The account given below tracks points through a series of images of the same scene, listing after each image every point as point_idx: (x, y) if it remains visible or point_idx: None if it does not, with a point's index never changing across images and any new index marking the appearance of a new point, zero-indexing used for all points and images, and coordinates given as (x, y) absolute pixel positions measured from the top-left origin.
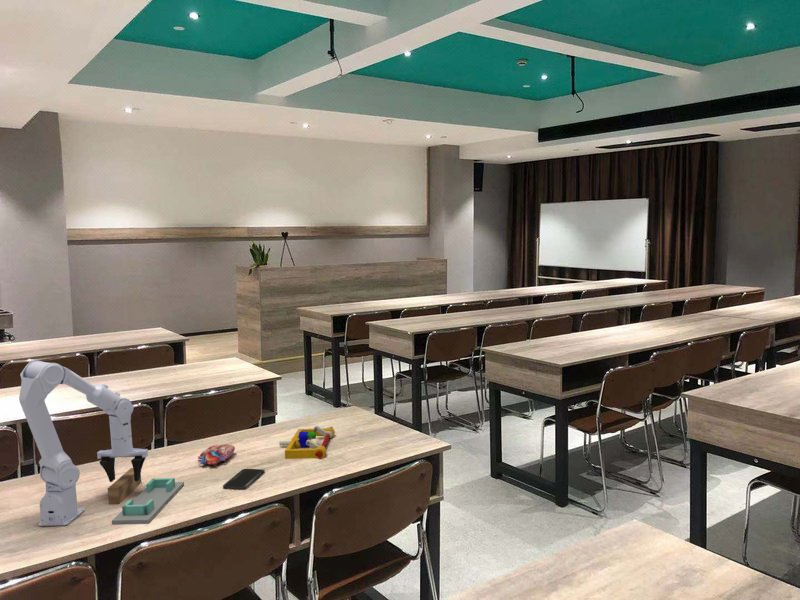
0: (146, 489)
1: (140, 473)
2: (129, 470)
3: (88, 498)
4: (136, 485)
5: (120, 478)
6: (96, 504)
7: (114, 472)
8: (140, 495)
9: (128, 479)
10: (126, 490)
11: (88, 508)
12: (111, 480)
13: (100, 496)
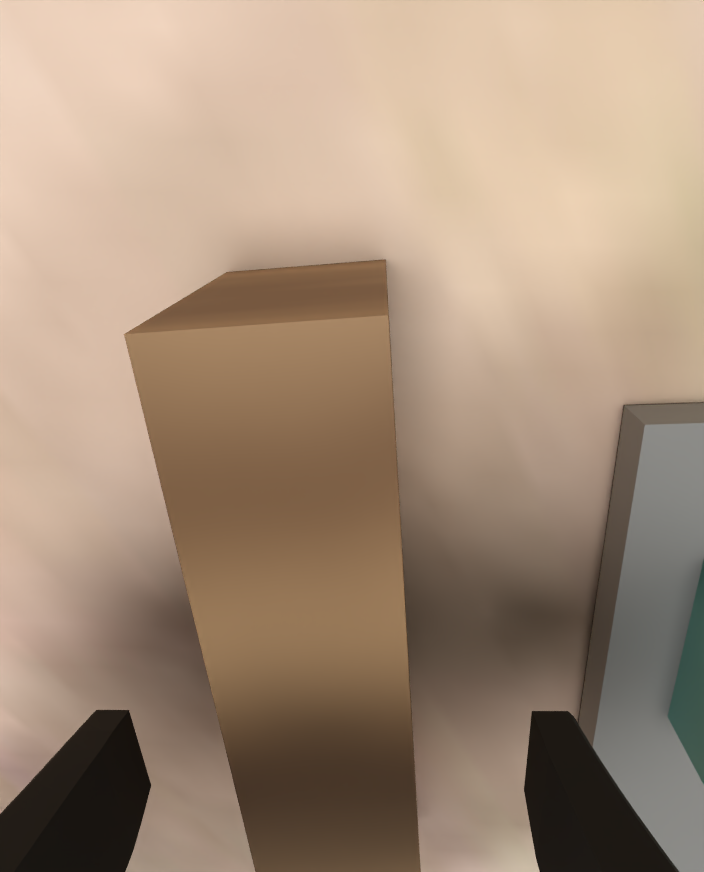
0: (634, 641)
1: (621, 797)
2: (192, 482)
3: (4, 708)
4: (396, 451)
5: (268, 816)
6: (196, 814)
7: (60, 821)
8: (613, 776)
9: (416, 813)
10: (413, 750)
11: (179, 867)
12: (142, 817)
13: (97, 673)
